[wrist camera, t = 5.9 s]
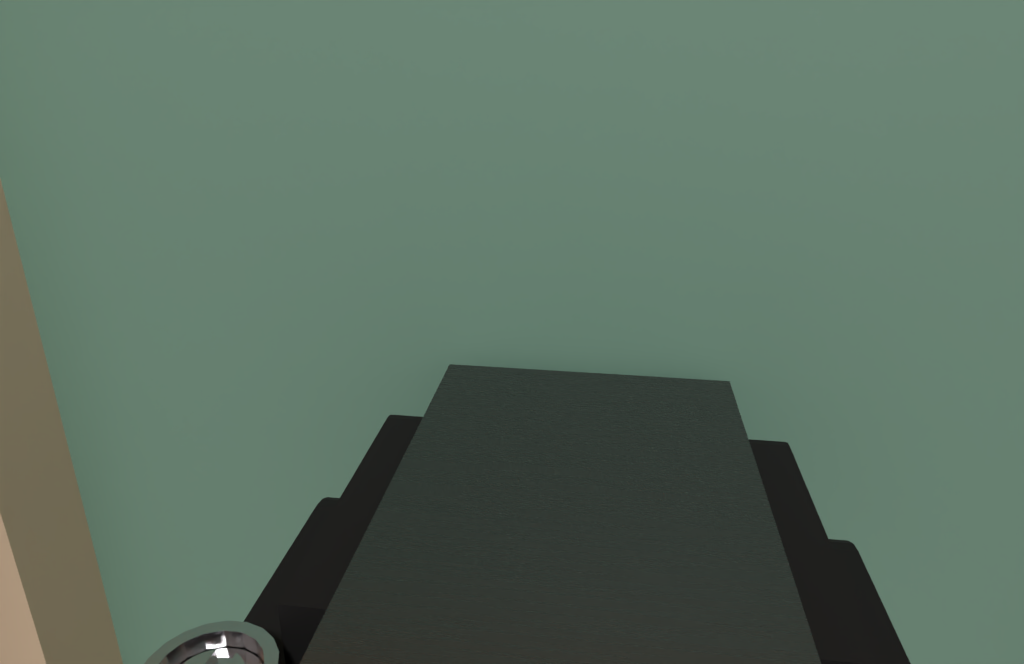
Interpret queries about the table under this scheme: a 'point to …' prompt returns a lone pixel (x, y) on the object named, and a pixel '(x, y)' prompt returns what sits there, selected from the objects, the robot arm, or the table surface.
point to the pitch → (497, 273)
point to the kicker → (570, 532)
